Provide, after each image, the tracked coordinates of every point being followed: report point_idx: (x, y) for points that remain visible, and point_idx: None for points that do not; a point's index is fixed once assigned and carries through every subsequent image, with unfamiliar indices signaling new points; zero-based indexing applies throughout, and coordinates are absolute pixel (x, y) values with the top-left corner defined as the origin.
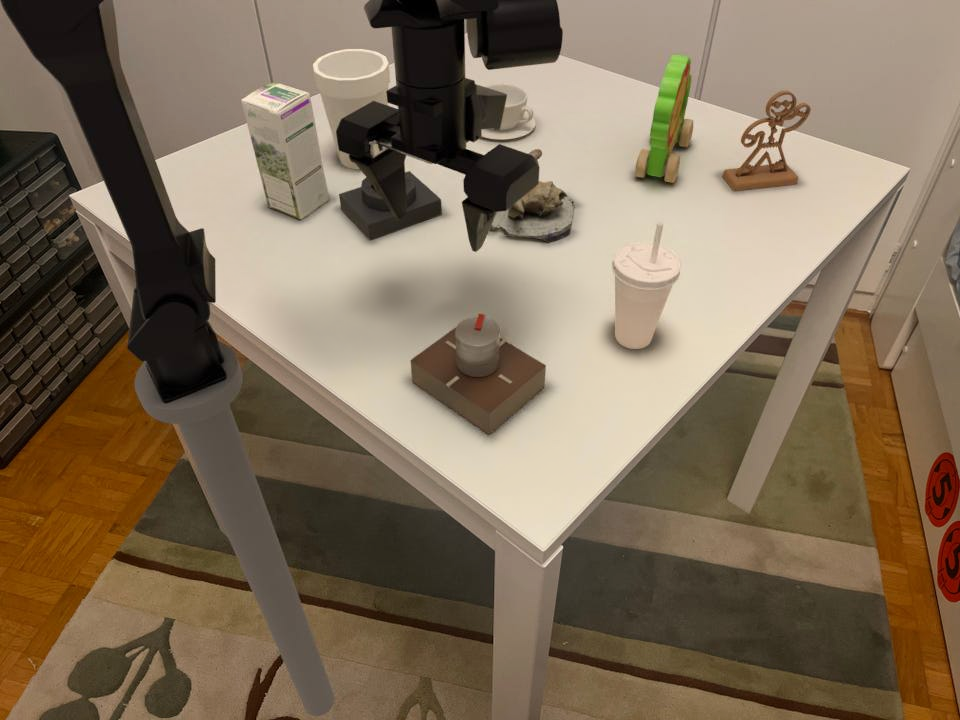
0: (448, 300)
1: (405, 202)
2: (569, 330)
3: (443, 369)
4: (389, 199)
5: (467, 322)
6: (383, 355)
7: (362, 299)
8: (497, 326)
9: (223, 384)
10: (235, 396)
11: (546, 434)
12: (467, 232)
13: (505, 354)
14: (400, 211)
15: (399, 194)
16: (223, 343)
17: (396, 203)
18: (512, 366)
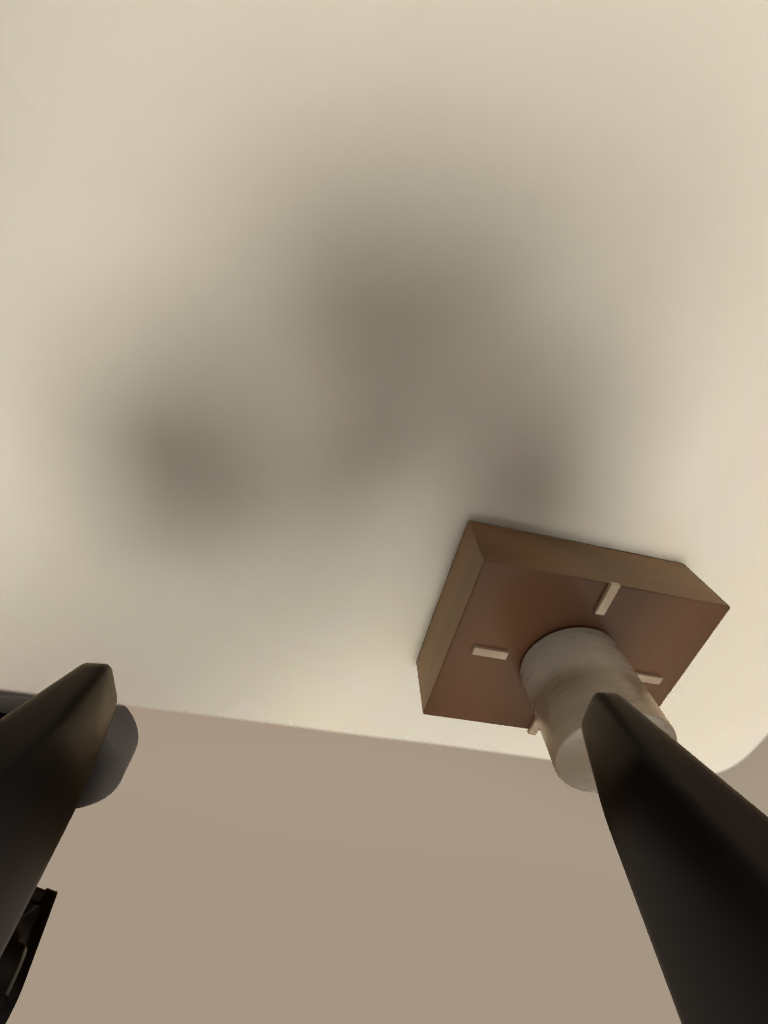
0: (341, 411)
1: (62, 731)
2: (722, 358)
3: (503, 706)
4: (20, 909)
5: (579, 746)
6: (318, 635)
7: (134, 518)
8: (667, 726)
9: (108, 750)
10: (129, 714)
11: (705, 650)
12: (641, 915)
13: (625, 620)
14: (92, 736)
15: (8, 839)
16: (6, 697)
17: (55, 821)
18: (650, 640)
